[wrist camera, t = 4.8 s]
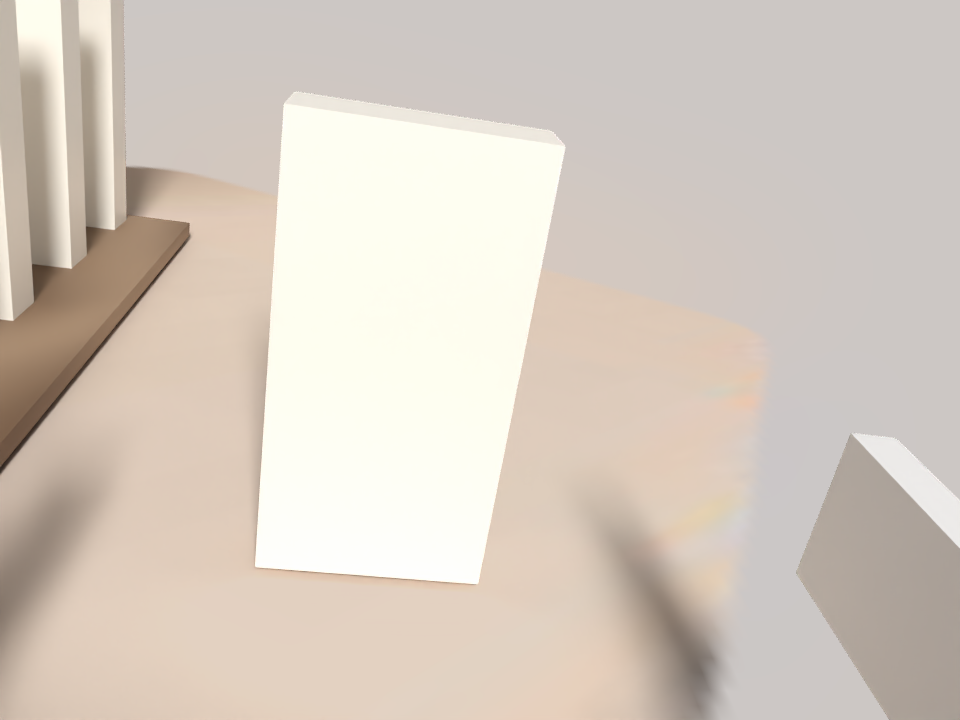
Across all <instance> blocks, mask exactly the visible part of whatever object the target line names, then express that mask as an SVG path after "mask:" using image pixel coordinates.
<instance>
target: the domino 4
mask: <svg viewBox="0 0 960 720" xmlns="http://www.w3.org/2000/svg"><path fill="white" fill-rule="evenodd" d="M564 151H565V145H564V144H563V143H562V142H561V141H560V139H559V138H557V136H556V135H555V134H554V133H553V131H551V130H545V129H538V128H531V127H525V126H518V125H512V124H506V123H499V122H493V121H486V120H480V119H473V118H466V117H460V116H453V115H447V114H440V113H434V112H428V111H421V110H414V109H408V108H401V107H395V106H388V105H382V104H375V103H369V102H362V101H356V100H350V99H343V98H337V97H330V96H323V95H317V94H311V93H304V92H298V91H295V92H294V93H293V94H292V95H291V96H290V97H289V99H288V100H287V101H286V102H285V103H284V112H283V127H282V143H281V159H280V176H279V191H278V207H277V223H276V239H275V255H274V271H273V287H272V303H271V319H270V335H269V351H268V367H267V383H266V399H265V415H264V431H263V447H262V463H261V479H260V495H259V511H258V527H257V543H256V559H255V567H259V568H272V569H286V570H299V571H312V572H325V573H338V574H351V575H364V576H377V577H390V578H403V579H416V580H429V581H442V582H455V583H468V584H478V581H479V576H480V571H481V566H482V561H483V556H484V551H485V546H486V541H487V536H488V531H489V526H490V521H491V516H492V511H493V506H494V501H495V496H496V491H497V486H498V481H499V476H500V471H501V466H502V461H503V456H504V451H505V446H506V441H507V436H508V431H509V426H510V421H511V416H512V411H513V406H514V401H515V396H516V391H517V386H518V381H519V376H520V371H521V366H522V361H523V356H524V351H525V346H526V341H527V336H528V331H529V326H530V321H531V316H532V311H533V306H534V301H535V296H536V291H537V286H538V281H539V276H540V271H541V266H542V261H543V256H544V251H545V246H546V241H547V236H548V231H549V226H550V221H551V216H552V211H553V206H554V201H555V196H556V191H557V186H558V181H559V176H560V171H561V166H562V161H563V156H564Z"/></svg>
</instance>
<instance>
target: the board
mask: <svg viewBox="0 0 960 720" xmlns="http://www.w3.org/2000/svg"><path fill="white" fill-rule="evenodd" d="M188 237H189V223H186V222H178V221H170V220H163V219H155V218H147V217H140V216H132V215H126V221H124V222H123V223H122V224H121V225H120V226H119V227H118V228H117V229H115V230H111V229H103V228H95V227H87V226H86V247H87V255H86V256H85V257H84V258H83V259H82V260H81V261H80V262H79V263H77V264H76V265H75V266H74V267H73V268H72V269H70V268H61V267H53V266H45V265H37V264H32V277H33V293H34V303H33V304H32V305H30V306H29V307H28V308H27V309H26V310H25V311H24V312H23V313H21V314H20V315H19V316H18V317H17V318H16V319H15V320H14V321H11V320H2V319H0V467H1V466H2V464H3V463H4V462H5V461H6V459H7V458H8V457H9V456H10V455H11V453H12V452H13V451H14V450H15V448H16V447H17V446H18V445H19V444H20V442H21V441H22V440H23V439H24V437H25V436H26V435H27V434H28V433H29V431H30V430H31V429H32V428H33V426H34V425H35V424H36V423H37V422H38V420H39V419H40V418H41V417H42V415H43V414H44V413H45V412H46V410H47V409H48V408H49V407H50V406H51V404H52V403H53V402H54V401H55V399H56V398H57V397H58V396H59V395H60V393H61V392H62V391H63V390H64V388H65V387H66V386H67V385H68V384H69V382H70V381H71V380H72V379H73V377H74V376H75V375H76V374H77V373H78V371H79V370H80V369H81V368H82V366H83V365H84V364H85V363H86V362H87V360H88V359H89V358H90V357H91V355H92V354H93V353H94V352H95V351H96V349H97V348H98V347H99V346H100V344H101V343H102V342H103V341H104V340H105V338H106V337H107V336H108V335H109V333H110V332H111V331H112V330H113V329H114V327H115V326H116V325H117V324H118V322H119V321H120V320H121V319H122V317H123V316H124V315H125V314H126V313H127V311H128V310H129V309H130V308H131V306H132V305H133V304H134V303H135V302H136V300H137V299H138V298H139V297H140V295H141V294H142V293H143V292H144V291H145V289H146V288H147V287H148V286H149V284H150V283H151V282H152V281H153V280H154V278H155V277H156V276H157V275H158V273H159V272H160V271H161V270H162V269H163V267H164V266H165V265H166V264H167V262H168V261H169V260H170V259H171V258H172V256H173V255H174V254H175V253H176V251H177V250H178V249H179V248H180V247H181V245H182V244H183V243H184V242H185V240H186V239H187V238H188Z"/></svg>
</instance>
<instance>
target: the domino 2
mask: <svg viewBox="0 0 960 720" xmlns="http://www.w3.org/2000/svg"><path fill="white" fill-rule="evenodd" d="M15 2H16V18H17V34H18V50H19V67H20V83H21V99H22V115H23V131H24V148H25V164H26V180H27V196H28V212H29V229H30V245H31V261H32V264H37V265H45V266H53V267H61V268H70V269H72V268H73V267H74V266H75V265H76V264H77V263H79V262H80V261H81V260H82V259H83V258H84V257H85V256H86V255H87V247H86V217H85V187H84V157H83V127H82V97H81V67H80V38H79V8H78V0H15Z"/></svg>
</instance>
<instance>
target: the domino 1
mask: <svg viewBox="0 0 960 720" xmlns="http://www.w3.org/2000/svg"><path fill="white" fill-rule="evenodd" d="M33 303H34V293H33V277H32V261H31V245H30V229H29V212H28V196H27V180H26V164H25V148H24V131H23V115H22V99H21V83H20V67H19V50H18V34H17V18H16V2H15V0H0V319H2V320H11V321H14V320H15V319H16V318H17V317H18V316H19V315H20V314H21V313H23V312H24V311H25V310H26V309H27V308H28V307H29V306H30V305H32V304H33Z"/></svg>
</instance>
